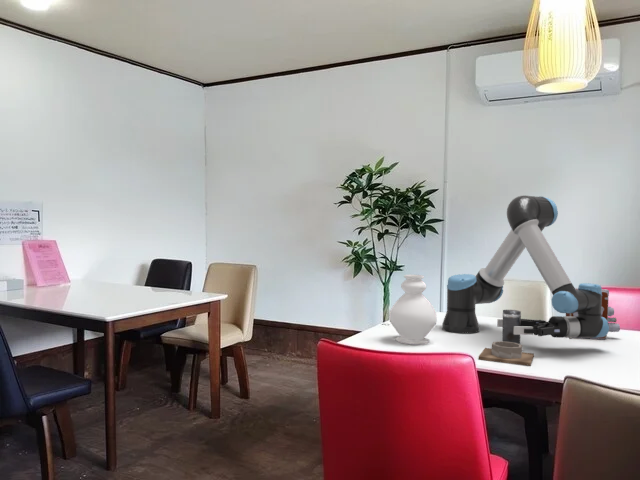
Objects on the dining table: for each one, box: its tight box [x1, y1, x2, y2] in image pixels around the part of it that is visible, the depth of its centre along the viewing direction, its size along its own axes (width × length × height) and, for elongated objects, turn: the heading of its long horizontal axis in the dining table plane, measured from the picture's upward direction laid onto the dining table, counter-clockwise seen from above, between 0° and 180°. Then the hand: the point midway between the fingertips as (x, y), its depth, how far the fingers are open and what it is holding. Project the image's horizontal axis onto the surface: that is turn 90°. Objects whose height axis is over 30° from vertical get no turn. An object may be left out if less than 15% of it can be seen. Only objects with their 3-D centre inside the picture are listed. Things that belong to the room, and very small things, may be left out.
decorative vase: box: [388, 274, 438, 345], centre depth 194 cm, size 18×18×25 cm
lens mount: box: [477, 340, 535, 367], centre depth 171 cm, size 16×14×4 cm
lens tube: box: [501, 309, 522, 345], centre depth 182 cm, size 6×6×14 cm
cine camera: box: [565, 287, 621, 340], centre depth 206 cm, size 9×19×20 cm, turn 78°
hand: (505, 326), depth 182 cm, fingers open, 13 cm apart
